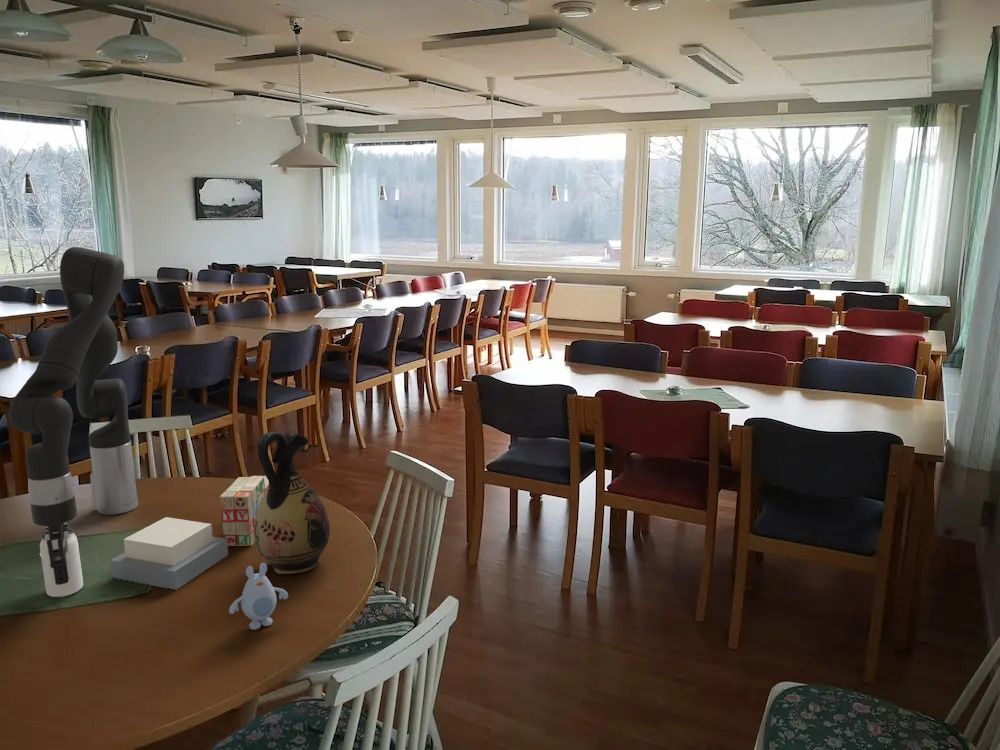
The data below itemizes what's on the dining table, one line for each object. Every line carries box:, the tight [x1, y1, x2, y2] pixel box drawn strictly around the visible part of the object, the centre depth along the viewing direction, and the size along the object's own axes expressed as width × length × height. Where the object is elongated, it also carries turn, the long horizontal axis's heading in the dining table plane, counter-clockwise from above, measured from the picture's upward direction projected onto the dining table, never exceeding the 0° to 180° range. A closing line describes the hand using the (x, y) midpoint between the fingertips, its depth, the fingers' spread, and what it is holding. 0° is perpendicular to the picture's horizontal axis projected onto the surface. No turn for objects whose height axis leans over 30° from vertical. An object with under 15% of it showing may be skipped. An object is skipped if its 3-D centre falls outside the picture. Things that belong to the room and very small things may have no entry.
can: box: [39, 528, 84, 598], centre depth 151 cm, size 6×6×12 cm
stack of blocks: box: [219, 475, 269, 547], centre depth 181 cm, size 21×6×12 cm, turn 179°
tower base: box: [110, 516, 229, 591], centre depth 162 cm, size 16×16×8 cm
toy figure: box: [228, 562, 289, 631], centre depth 138 cm, size 11×6×12 cm, turn 123°
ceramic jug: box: [254, 431, 331, 575], centre depth 159 cm, size 17×15×30 cm
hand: (63, 575), depth 152 cm, fingers open, 6 cm apart
